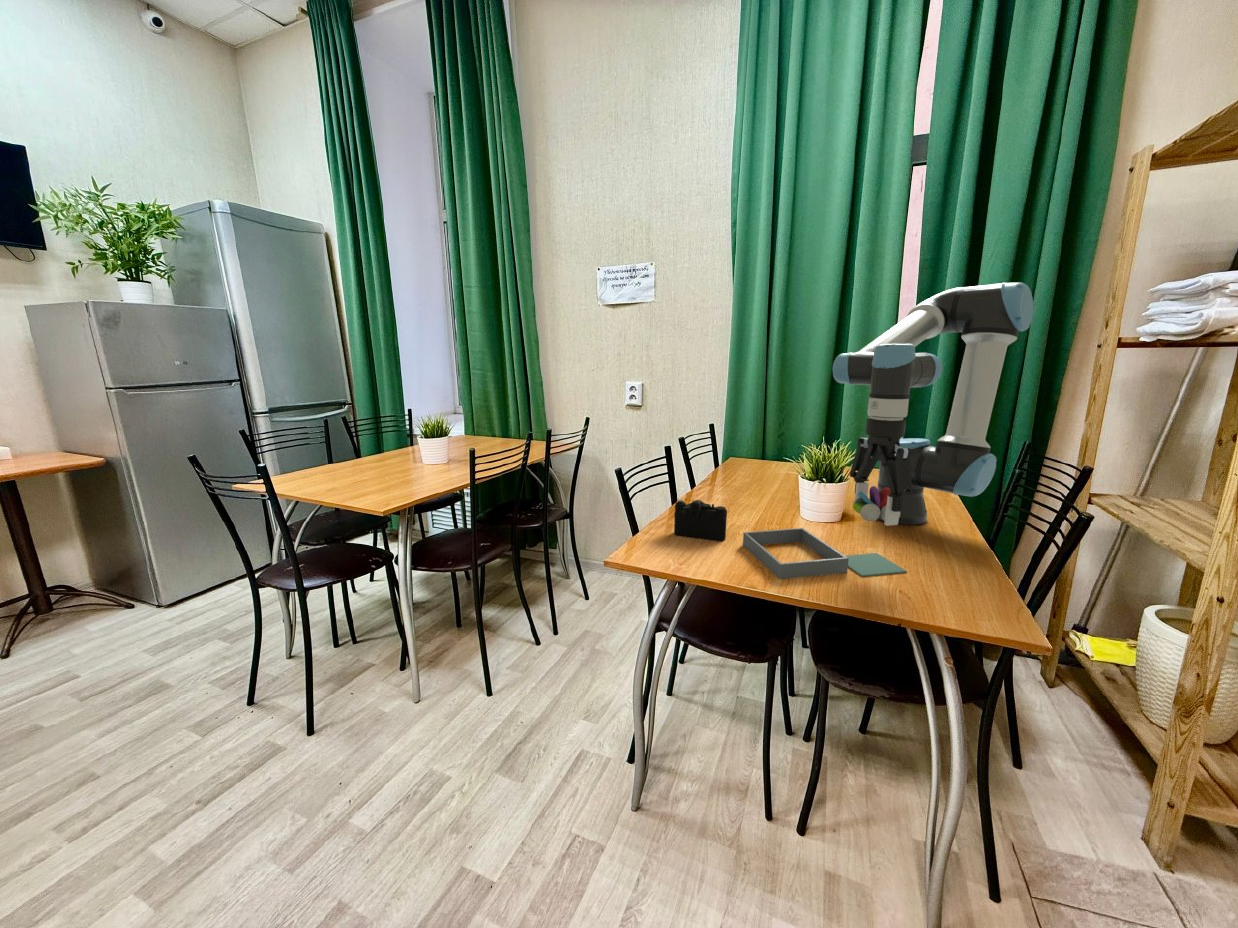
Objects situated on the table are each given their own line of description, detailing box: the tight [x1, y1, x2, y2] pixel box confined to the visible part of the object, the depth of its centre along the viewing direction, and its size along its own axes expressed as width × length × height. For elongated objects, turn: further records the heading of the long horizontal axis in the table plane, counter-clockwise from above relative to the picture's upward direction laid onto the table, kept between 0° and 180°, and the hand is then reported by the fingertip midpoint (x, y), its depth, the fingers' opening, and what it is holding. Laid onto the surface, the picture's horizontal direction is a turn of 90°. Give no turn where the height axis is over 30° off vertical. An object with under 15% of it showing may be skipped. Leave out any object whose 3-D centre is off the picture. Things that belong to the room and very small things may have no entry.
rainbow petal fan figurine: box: [852, 485, 900, 522], centre depth 109 cm, size 8×10×7 cm
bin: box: [742, 527, 849, 580], centre depth 116 cm, size 16×19×4 cm
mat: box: [845, 552, 907, 578], centre depth 112 cm, size 11×10×1 cm
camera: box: [673, 499, 728, 543], centre depth 132 cm, size 14×11×10 cm
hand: (874, 516), depth 109 cm, fingers closed on rainbow petal fan figurine, 10 cm apart
